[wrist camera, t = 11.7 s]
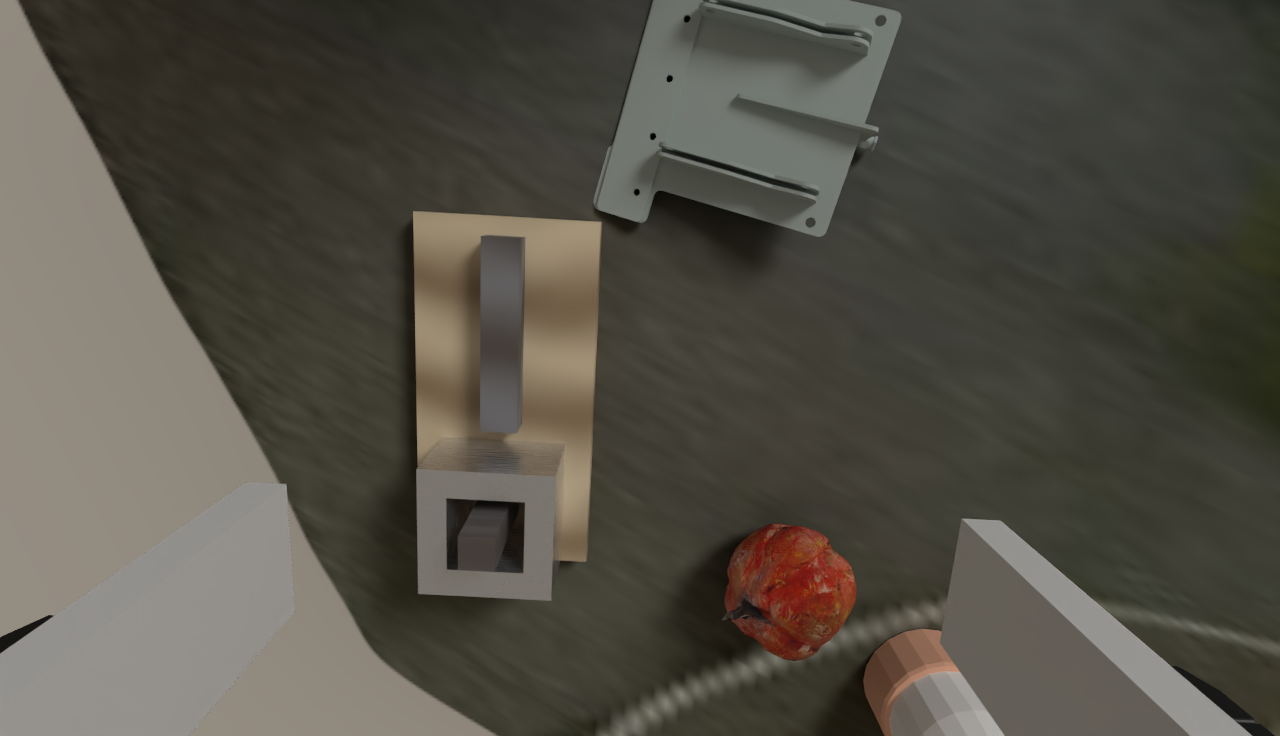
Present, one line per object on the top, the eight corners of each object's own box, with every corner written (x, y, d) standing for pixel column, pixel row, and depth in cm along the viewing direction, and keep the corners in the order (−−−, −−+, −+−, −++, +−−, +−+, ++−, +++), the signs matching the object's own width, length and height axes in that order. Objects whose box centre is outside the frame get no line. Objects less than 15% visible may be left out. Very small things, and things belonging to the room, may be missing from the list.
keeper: (421, 211, 38) (361, 211, 29) (602, 221, 38) (592, 225, 30) (426, 541, 42) (375, 622, 34) (587, 549, 42) (575, 632, 34)
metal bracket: (943, -46, 30) (826, 281, 33) (925, 4, 36) (826, 279, 39) (644, -105, 33) (563, 199, 36) (671, -51, 39) (598, 209, 42)
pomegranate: (818, 488, 44) (707, 508, 38) (915, 557, 39) (805, 594, 33) (780, 581, 46) (671, 614, 40) (867, 658, 41) (756, 710, 35)
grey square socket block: (443, 436, 39) (416, 468, 34) (565, 443, 39) (555, 476, 34) (444, 547, 41) (418, 593, 36) (561, 554, 41) (551, 600, 36)
